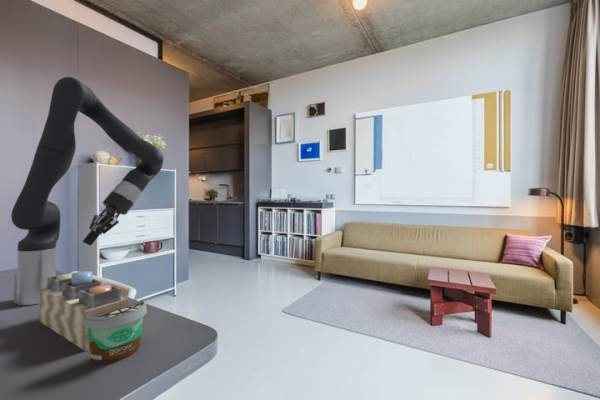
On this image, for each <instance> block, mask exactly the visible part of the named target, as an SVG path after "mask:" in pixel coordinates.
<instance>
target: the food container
mask: <svg viewBox="0 0 600 400" xmlns="http://www.w3.org/2000/svg"><path fill="white" fill-rule="evenodd" d="M147 312H148V310H147V305H146V303H145V300H144V299H141V300H140V303H138V304H134V305H131V306H128V307H126V308H120V309H116V310H113V311H111V312H109V313H107V314H104V315H101V316H98V317H90V316H87V318H86V319H85V322H84V327H87V328H88V336H89V345H90V350H89V351H90V353H89V354H90V361H91V362H93V363H94V364H96V363H97V364H109V363H115V362H119V361H122V360H124V359H125V360H126V359H127V358H129V357H131V356H133V355H134V354H135V353H137V352H138V350H139V349H140V345H141V339H142V337H141V336H142V329H143V320H144V316H145V315H146V314H147Z"/></svg>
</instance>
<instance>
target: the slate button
mask: <svg viewBox="0 0 600 400" xmlns="http://www.w3.org/2000/svg"><path fill="white" fill-rule="evenodd" d="M72 273H73V274H72V283H71V286H73V287H77V286H82V285H86V284H91V283H93V279H94V273H93V271H92V270H91V271H90V270H87V271H86V270H84V271H83V270H82V271H78V272H77V271H76V272H72Z"/></svg>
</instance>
